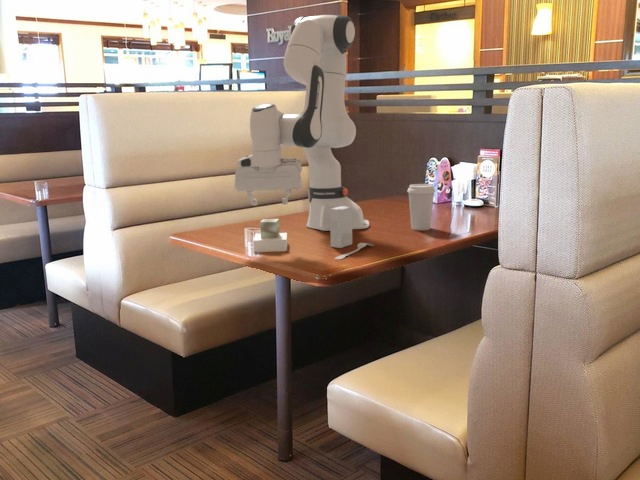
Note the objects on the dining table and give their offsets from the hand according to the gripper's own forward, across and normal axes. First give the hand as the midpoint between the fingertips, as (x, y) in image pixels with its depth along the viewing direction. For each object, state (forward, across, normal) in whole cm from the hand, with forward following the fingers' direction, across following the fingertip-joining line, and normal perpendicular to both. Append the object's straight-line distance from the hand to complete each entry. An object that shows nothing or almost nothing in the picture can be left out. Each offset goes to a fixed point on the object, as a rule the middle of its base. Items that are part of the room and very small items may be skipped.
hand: (269, 204), depth 195 cm
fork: (+14, -26, +8) cm, 30 cm away
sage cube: (+10, 0, 0) cm, 10 cm away
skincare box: (+14, -22, 0) cm, 26 cm away
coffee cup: (+15, -48, -25) cm, 57 cm away
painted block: (+14, 0, +1) cm, 14 cm away
